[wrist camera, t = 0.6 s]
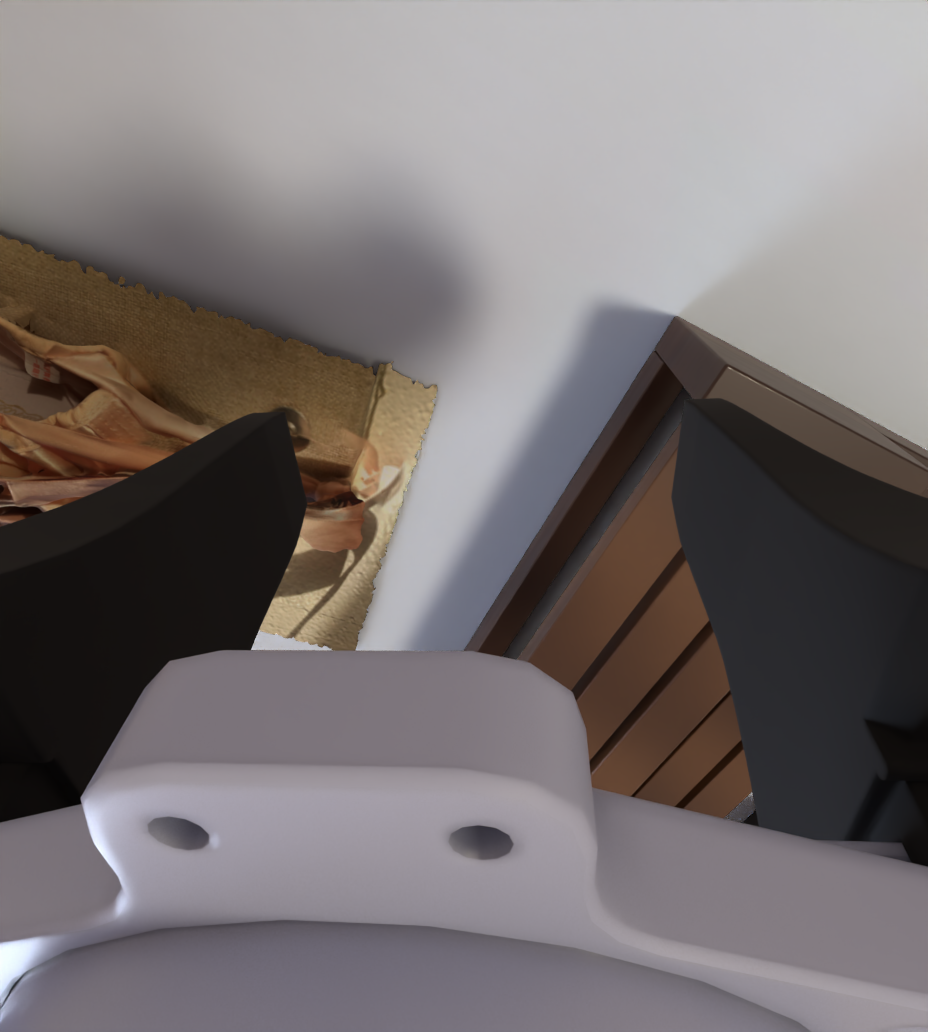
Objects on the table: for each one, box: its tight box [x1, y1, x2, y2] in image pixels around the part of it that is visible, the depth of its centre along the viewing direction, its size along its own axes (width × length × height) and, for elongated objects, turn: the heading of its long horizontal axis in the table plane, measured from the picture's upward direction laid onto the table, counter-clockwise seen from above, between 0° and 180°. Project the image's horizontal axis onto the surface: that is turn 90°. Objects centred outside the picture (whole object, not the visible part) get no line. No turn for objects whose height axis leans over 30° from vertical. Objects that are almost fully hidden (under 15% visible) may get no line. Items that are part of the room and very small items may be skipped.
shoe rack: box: [464, 316, 928, 818], centre depth 24 cm, size 22×13×6 cm, turn 154°
